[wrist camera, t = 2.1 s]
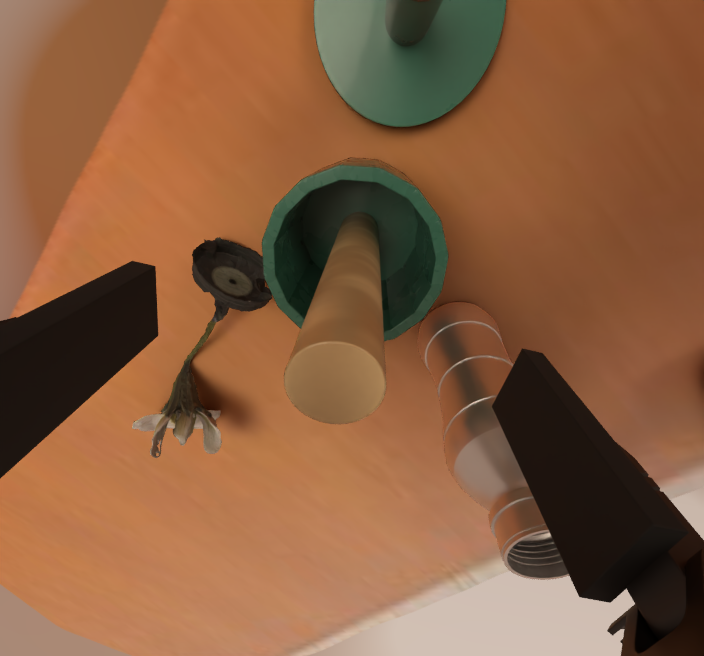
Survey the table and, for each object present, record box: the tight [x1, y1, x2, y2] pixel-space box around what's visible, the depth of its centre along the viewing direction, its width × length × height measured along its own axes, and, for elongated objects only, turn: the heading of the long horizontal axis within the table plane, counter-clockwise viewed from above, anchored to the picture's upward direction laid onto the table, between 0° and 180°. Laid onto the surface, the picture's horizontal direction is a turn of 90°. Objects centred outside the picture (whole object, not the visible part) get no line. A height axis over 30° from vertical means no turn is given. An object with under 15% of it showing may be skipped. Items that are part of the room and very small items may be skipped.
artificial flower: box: [132, 237, 272, 458], centre depth 32 cm, size 9×22×10 cm, turn 147°
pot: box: [262, 158, 448, 341], centre depth 24 cm, size 10×10×10 cm
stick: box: [284, 212, 386, 424], centre depth 19 cm, size 3×3×20 cm
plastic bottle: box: [418, 302, 569, 580], centre depth 23 cm, size 6×7×20 cm
